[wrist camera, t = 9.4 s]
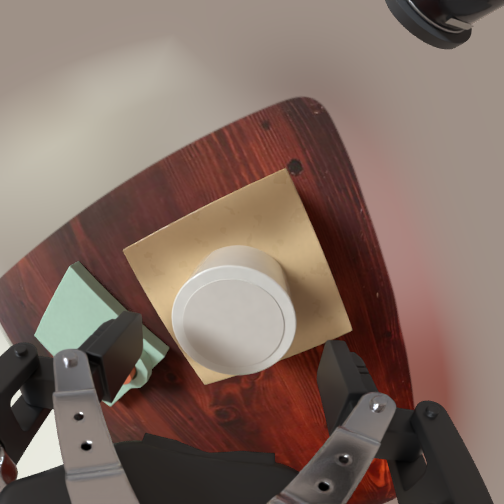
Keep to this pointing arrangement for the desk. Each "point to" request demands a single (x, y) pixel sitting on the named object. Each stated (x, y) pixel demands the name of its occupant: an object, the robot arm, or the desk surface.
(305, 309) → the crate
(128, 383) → the button
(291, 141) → the desk surface
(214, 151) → the desk surface
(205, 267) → the ramekin
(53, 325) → the scale
